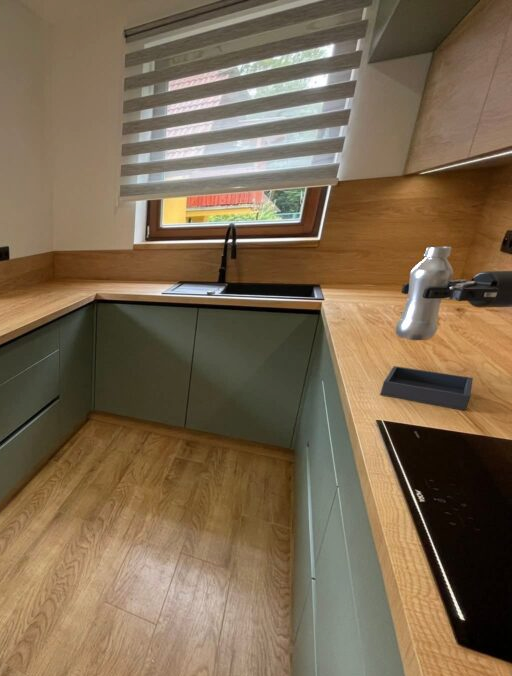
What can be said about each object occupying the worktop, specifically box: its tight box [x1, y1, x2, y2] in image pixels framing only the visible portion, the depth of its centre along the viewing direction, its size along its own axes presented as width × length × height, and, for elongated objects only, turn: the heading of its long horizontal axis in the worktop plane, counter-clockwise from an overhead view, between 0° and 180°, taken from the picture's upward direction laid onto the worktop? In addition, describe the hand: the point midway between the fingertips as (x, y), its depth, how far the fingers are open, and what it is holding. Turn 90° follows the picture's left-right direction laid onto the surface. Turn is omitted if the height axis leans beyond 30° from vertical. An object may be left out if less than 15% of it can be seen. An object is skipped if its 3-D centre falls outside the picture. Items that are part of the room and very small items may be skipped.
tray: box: [379, 365, 474, 412], centre depth 89 cm, size 13×12×3 cm
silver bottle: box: [395, 246, 454, 342], centre depth 93 cm, size 6×7×20 cm
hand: (413, 290), depth 93 cm, fingers closed on silver bottle, 6 cm apart
